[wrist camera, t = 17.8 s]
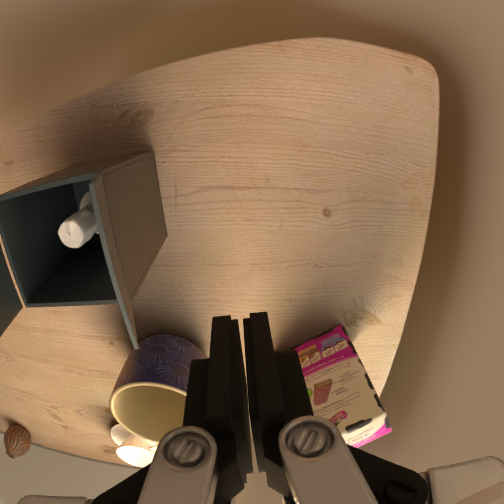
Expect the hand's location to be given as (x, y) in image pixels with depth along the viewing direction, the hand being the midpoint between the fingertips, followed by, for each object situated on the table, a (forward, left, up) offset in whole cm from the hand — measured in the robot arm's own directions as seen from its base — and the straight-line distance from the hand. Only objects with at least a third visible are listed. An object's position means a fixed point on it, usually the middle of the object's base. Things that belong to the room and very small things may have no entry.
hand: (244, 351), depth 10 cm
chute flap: (0, -8, -8) cm, 11 cm away
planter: (+23, -12, -26) cm, 37 cm away
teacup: (+43, -23, -26) cm, 55 cm away
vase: (+48, -58, -26) cm, 79 cm away
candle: (0, -14, -26) cm, 29 cm away
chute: (0, -14, -26) cm, 29 cm away
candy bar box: (+24, +8, -26) cm, 36 cm away
